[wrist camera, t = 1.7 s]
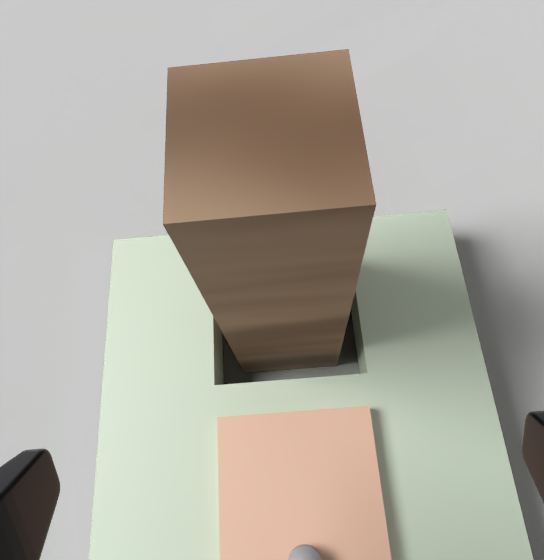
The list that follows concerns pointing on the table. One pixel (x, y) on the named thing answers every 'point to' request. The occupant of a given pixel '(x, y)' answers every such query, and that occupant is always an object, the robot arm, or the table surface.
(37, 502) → the robot arm
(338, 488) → the puzzle board
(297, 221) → the walnut block
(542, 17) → the table surface
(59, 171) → the table surface
